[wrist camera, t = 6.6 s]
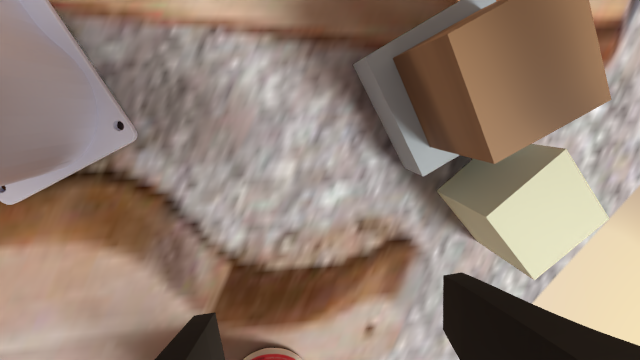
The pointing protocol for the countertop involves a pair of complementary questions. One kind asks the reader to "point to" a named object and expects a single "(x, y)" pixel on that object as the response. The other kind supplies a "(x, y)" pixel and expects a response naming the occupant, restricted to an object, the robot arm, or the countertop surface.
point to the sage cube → (526, 206)
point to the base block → (393, 97)
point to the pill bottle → (273, 355)
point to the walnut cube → (505, 76)
